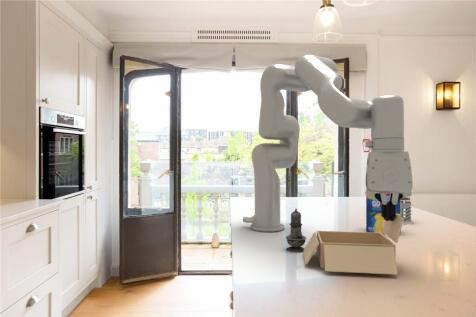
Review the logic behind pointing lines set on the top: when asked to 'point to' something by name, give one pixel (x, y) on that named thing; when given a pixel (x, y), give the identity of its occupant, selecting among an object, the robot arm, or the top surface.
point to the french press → (406, 211)
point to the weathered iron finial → (295, 233)
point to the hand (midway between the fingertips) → (388, 219)
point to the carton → (353, 252)
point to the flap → (393, 228)
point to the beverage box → (377, 214)
